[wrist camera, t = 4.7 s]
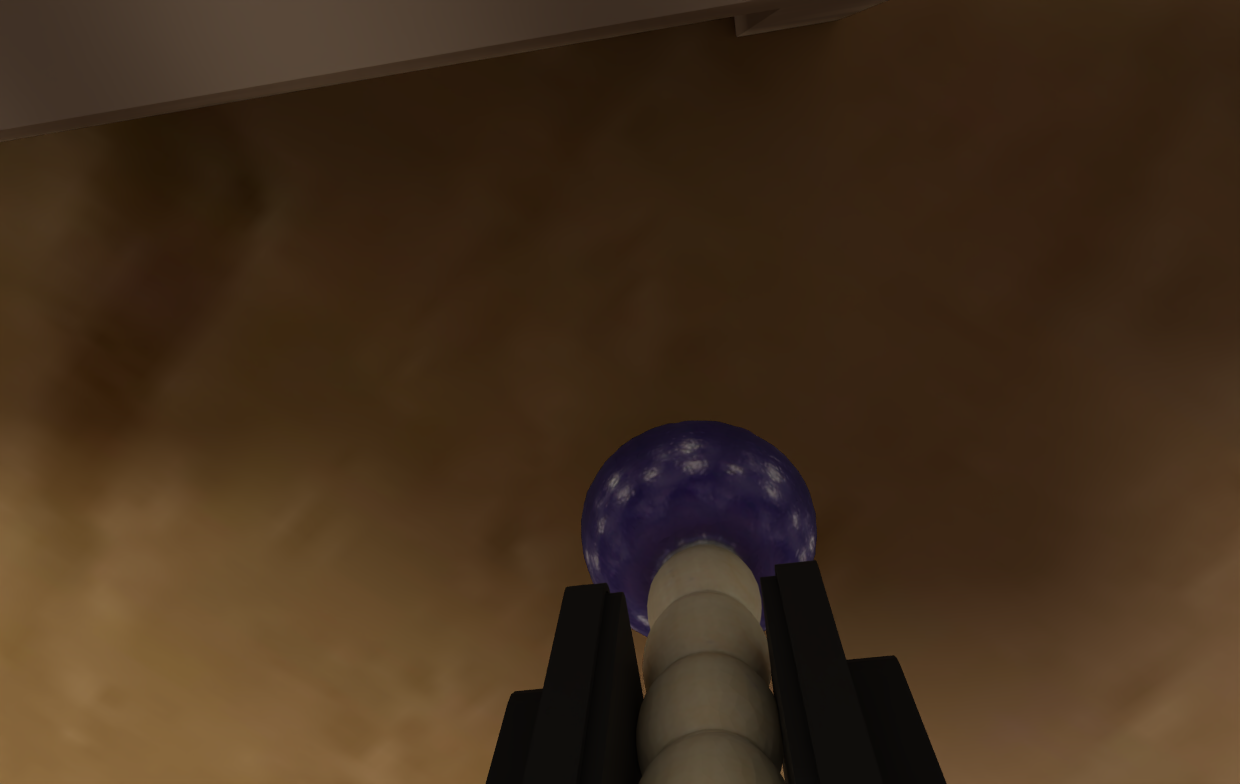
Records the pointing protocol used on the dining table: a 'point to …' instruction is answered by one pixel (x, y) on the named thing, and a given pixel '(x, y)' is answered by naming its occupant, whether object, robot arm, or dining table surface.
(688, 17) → the walnut shelf
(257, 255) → the dining table surface
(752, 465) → the toy lamp
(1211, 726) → the dining table surface
